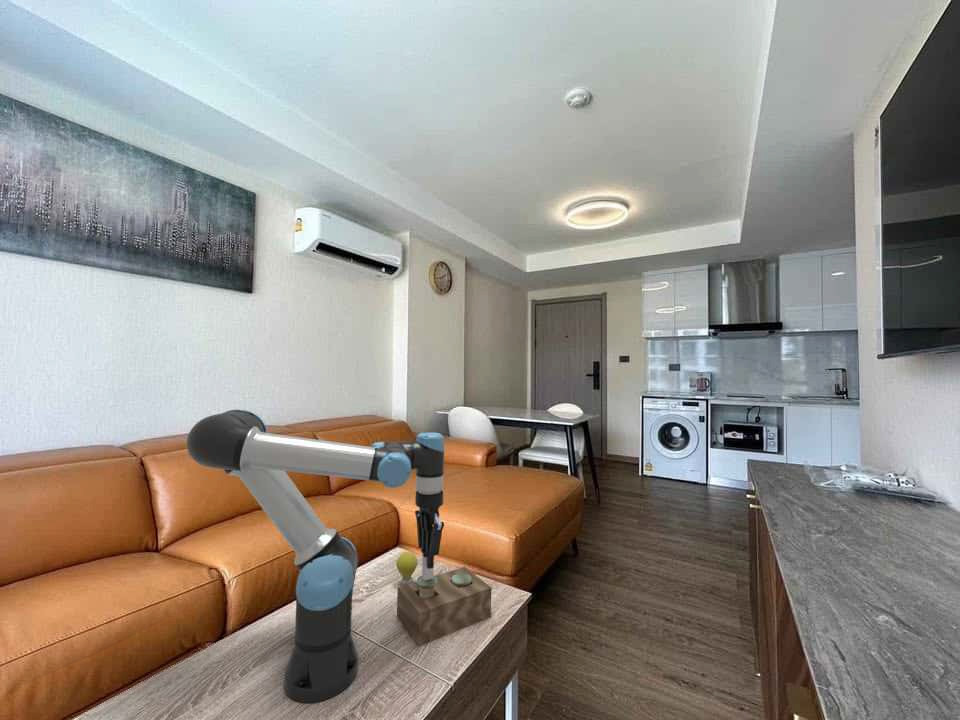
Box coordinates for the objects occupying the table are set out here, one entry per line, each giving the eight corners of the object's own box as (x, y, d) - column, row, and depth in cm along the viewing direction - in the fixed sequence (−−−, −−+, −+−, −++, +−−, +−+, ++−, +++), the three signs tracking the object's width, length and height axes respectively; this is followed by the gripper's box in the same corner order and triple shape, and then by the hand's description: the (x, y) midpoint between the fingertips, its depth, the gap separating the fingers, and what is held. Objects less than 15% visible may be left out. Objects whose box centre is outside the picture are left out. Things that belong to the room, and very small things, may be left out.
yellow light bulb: (412, 591, 121) (413, 558, 121) (392, 588, 122) (393, 556, 122) (420, 580, 127) (420, 549, 128) (400, 578, 129) (401, 547, 129)
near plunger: (421, 618, 102) (422, 587, 102) (412, 607, 106) (413, 577, 106) (440, 611, 105) (441, 581, 105) (430, 601, 109) (431, 572, 110)
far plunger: (457, 614, 108) (458, 585, 108) (447, 604, 112) (448, 576, 113) (474, 608, 111) (475, 579, 111) (464, 598, 115) (464, 571, 116)
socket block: (418, 646, 96) (419, 612, 97) (396, 616, 108) (397, 587, 108) (490, 616, 109) (491, 587, 109) (464, 593, 120) (464, 566, 121)
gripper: (453, 494, 104) (451, 585, 103) (430, 482, 114) (429, 565, 113) (428, 499, 99) (426, 593, 98) (407, 486, 110) (405, 572, 109)
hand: (427, 578), depth 106 cm, fingers closed
